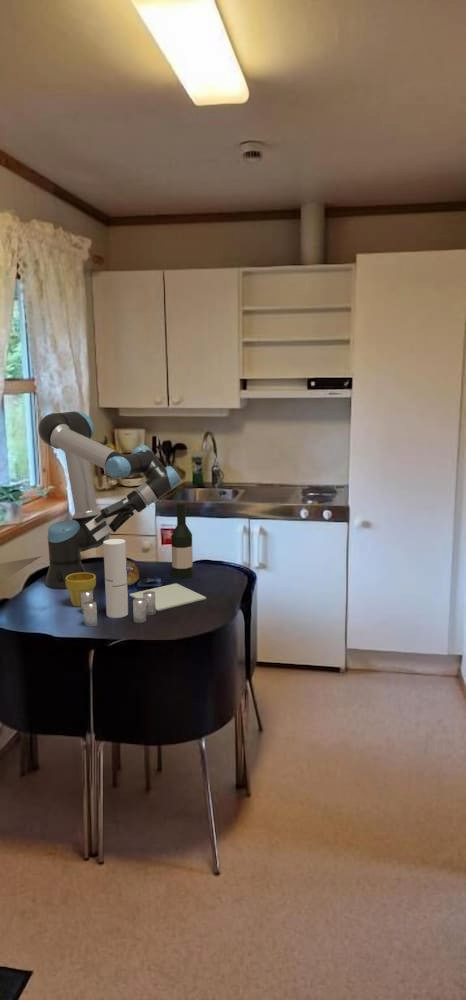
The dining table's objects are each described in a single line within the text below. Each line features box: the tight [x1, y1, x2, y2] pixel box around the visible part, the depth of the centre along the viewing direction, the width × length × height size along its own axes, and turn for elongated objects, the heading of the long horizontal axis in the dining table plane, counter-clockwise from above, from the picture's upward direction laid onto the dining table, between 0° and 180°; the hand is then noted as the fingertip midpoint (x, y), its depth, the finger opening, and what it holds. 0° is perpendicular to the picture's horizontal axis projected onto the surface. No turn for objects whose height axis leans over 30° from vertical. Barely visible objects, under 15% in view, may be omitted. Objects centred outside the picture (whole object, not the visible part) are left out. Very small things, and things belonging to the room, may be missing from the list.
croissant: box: [126, 561, 140, 587], centre depth 262 cm, size 21×10×8 cm, turn 13°
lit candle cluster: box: [80, 589, 157, 627], centre depth 223 cm, size 22×24×7 cm
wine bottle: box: [170, 500, 194, 580], centre depth 263 cm, size 8×8×30 cm
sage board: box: [128, 583, 207, 612], centre depth 241 cm, size 20×20×1 cm
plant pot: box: [66, 571, 97, 607], centre depth 235 cm, size 10×10×10 cm
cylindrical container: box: [102, 538, 129, 619], centre depth 223 cm, size 7×7×25 cm
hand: (91, 533), depth 236 cm, fingers open, 13 cm apart
